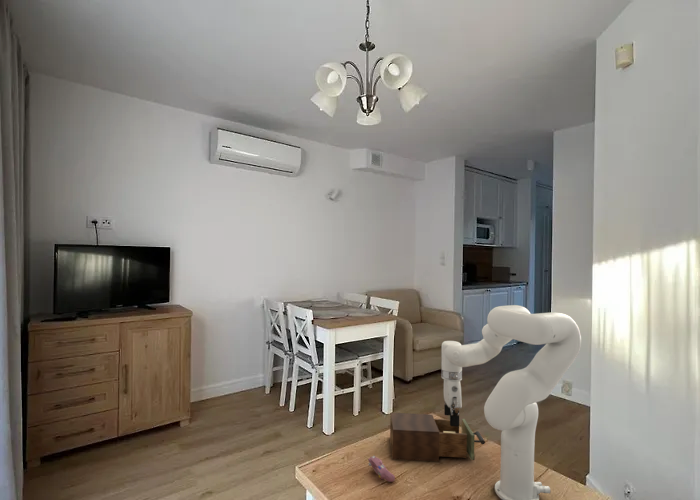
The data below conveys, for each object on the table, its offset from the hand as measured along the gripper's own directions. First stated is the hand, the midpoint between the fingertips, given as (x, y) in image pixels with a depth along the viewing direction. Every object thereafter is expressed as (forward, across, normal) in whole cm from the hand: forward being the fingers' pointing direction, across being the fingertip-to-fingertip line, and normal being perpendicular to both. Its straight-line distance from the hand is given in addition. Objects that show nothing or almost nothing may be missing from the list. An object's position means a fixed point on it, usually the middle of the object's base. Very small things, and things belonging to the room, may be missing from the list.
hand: (451, 420), depth 138 cm
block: (+10, +1, 0) cm, 10 cm away
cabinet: (+12, +1, +14) cm, 19 cm away
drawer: (+11, +1, -1) cm, 11 cm away
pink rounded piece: (+12, -17, +27) cm, 35 cm away
